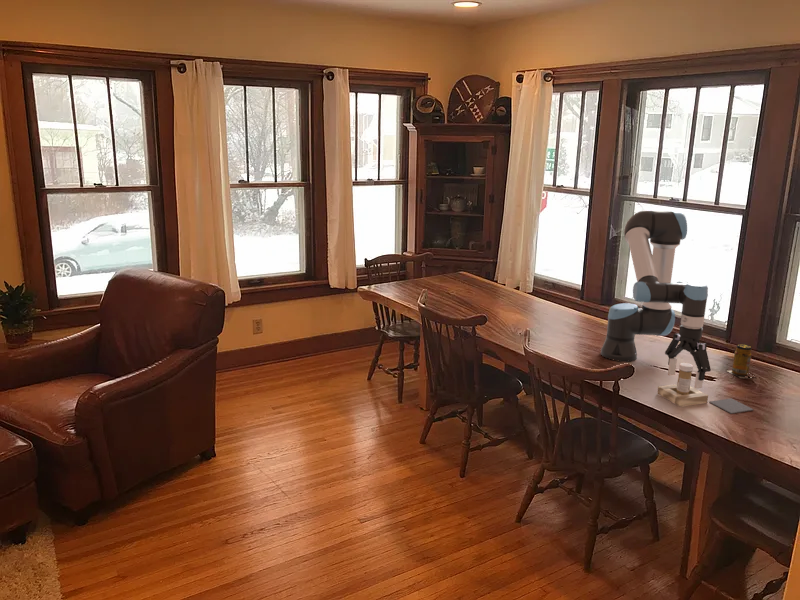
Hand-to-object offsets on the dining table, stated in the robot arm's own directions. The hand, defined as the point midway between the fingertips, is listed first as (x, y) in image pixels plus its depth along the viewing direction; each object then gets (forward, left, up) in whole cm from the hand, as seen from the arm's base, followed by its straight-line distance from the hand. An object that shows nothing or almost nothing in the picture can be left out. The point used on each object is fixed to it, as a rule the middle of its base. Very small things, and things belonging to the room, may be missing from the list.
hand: (684, 381), depth 228 cm
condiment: (-13, +41, -7) cm, 44 cm away
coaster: (+11, +12, -7) cm, 18 cm away
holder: (0, 0, -7) cm, 7 cm away
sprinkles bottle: (0, 0, -7) cm, 7 cm away
